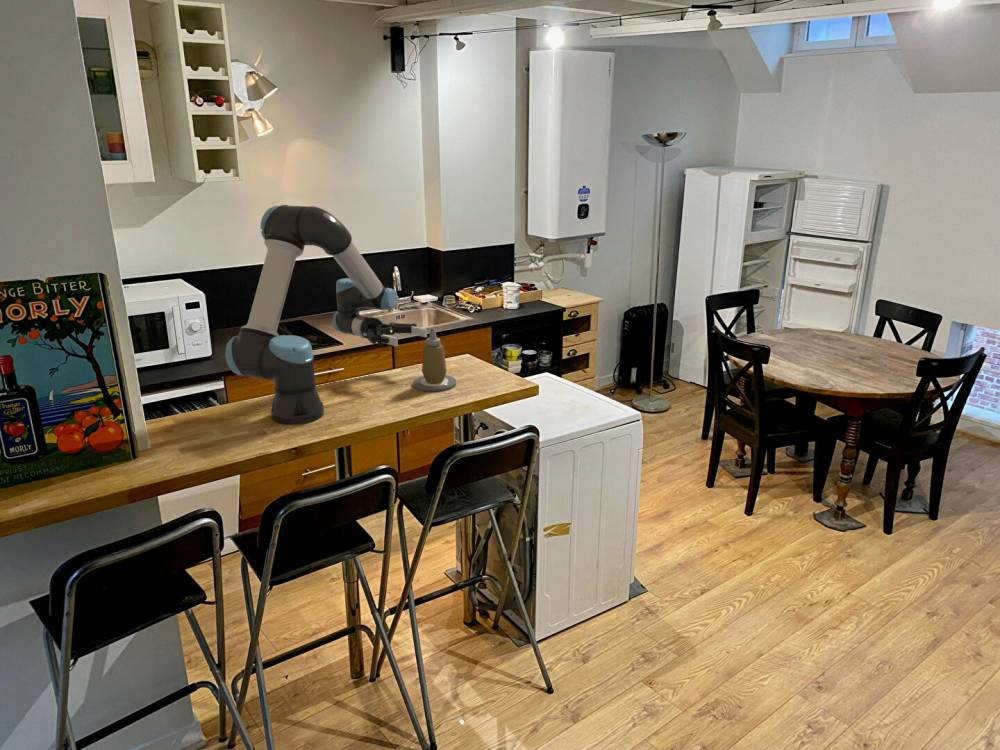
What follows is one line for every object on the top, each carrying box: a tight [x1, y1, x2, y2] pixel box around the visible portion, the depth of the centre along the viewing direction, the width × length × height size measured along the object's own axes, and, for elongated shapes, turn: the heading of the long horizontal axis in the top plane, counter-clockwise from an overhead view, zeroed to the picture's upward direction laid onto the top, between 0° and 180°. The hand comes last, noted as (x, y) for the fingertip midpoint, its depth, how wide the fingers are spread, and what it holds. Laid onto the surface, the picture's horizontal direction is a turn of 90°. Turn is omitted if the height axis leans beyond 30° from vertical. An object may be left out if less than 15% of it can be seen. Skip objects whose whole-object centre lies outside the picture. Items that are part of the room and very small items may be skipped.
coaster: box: [412, 375, 457, 393], centre depth 248 cm, size 14×14×1 cm
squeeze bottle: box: [421, 327, 448, 384], centre depth 245 cm, size 8×8×18 cm
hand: (411, 337), depth 250 cm, fingers open, 13 cm apart
